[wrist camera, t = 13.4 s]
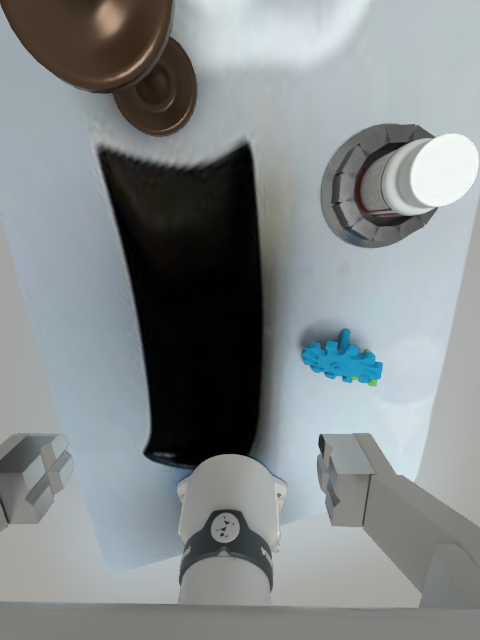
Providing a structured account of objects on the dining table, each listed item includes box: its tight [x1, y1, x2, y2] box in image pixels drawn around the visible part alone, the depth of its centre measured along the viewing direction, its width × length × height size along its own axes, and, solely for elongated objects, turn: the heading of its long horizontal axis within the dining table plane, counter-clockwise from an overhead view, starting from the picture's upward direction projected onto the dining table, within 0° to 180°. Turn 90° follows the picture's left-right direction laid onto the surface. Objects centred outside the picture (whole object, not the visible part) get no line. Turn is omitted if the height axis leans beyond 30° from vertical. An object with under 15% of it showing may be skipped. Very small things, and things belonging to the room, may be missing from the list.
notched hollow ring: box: [321, 124, 438, 248], centre depth 31 cm, size 13×13×4 cm
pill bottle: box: [354, 133, 479, 217], centre depth 27 cm, size 6×6×11 cm
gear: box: [301, 330, 383, 386], centre depth 37 cm, size 11×6×10 cm
